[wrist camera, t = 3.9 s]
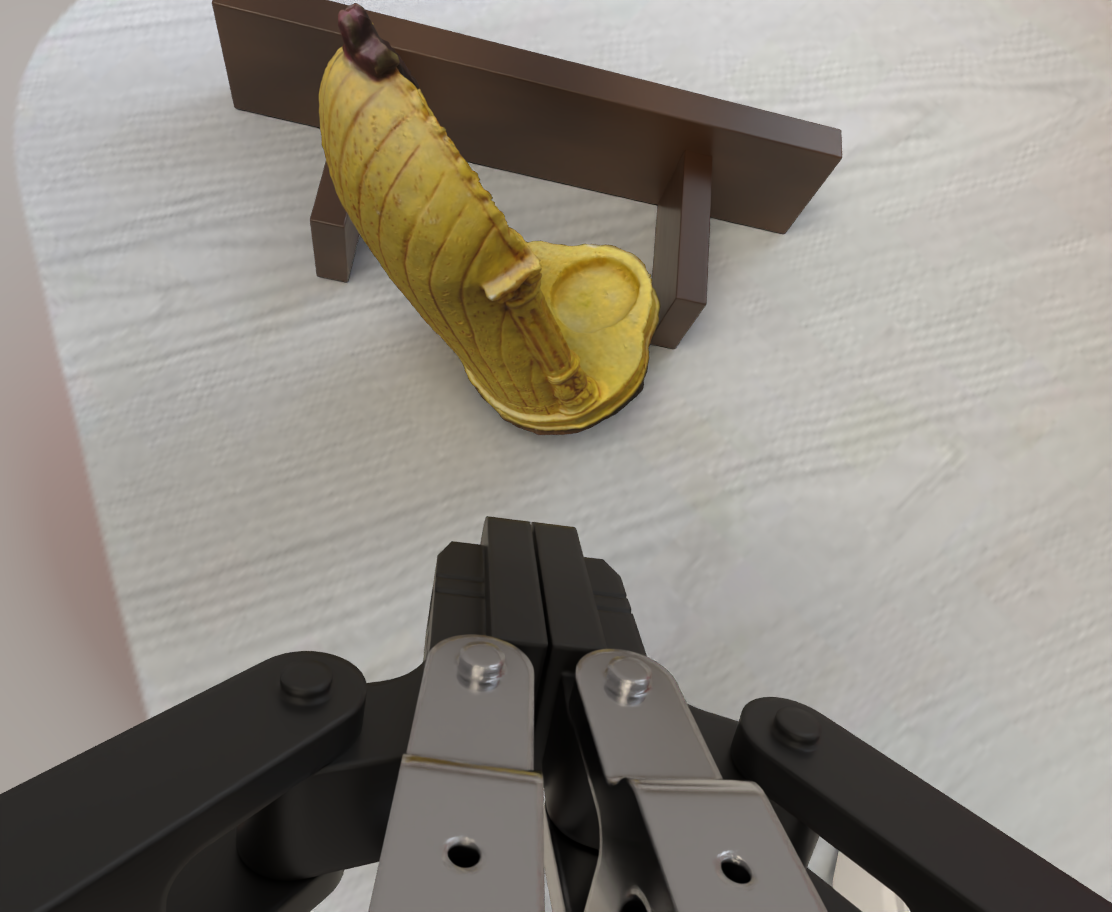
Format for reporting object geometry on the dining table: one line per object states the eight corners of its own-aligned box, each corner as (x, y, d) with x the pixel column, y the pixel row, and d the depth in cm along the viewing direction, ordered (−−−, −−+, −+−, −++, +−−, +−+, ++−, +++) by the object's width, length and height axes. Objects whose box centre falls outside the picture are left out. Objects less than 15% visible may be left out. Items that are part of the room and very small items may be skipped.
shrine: (346, 465, 29) (315, 186, 15) (336, 268, 31) (303, -123, 18) (653, 449, 31) (865, 198, 18) (619, 268, 34) (782, -71, 20)
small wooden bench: (185, 250, 30) (151, 157, 26) (243, 81, 34) (221, -28, 29) (784, 372, 34) (848, 309, 29) (784, 208, 37) (841, 129, 33)
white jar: (914, 786, 29) (801, 853, 27) (970, 788, 26) (848, 862, 24) (990, 933, 27) (875, 1011, 26) (1057, 950, 25) (934, 1039, 23)
